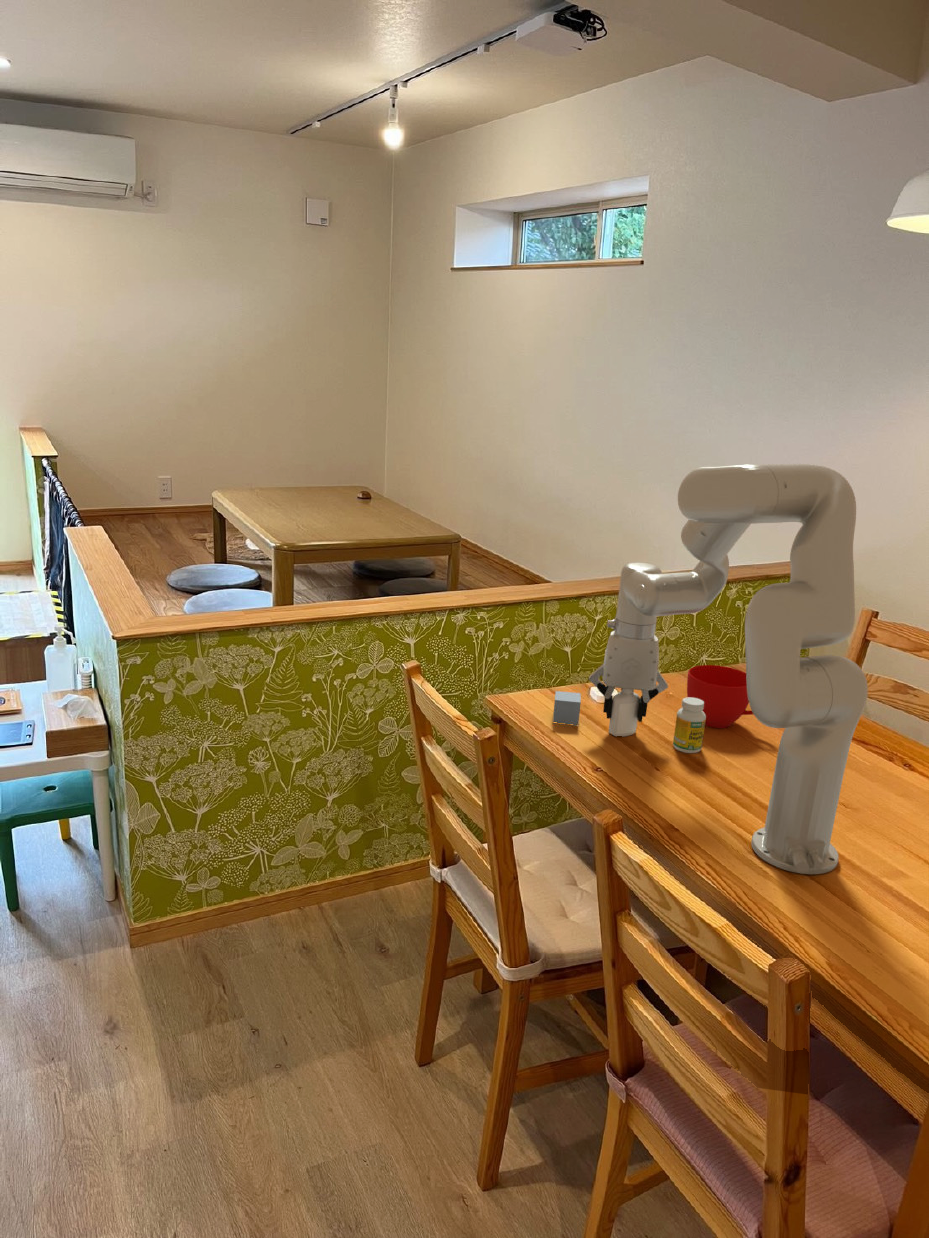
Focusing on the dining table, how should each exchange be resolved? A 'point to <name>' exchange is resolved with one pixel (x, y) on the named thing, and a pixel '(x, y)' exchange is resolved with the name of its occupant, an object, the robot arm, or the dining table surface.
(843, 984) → the dining table surface
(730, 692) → the ceramic cup
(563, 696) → the slate block
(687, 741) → the supplement bottle
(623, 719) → the eye dropper bottle
